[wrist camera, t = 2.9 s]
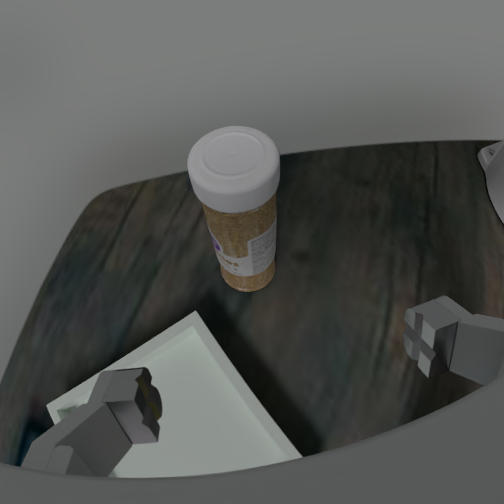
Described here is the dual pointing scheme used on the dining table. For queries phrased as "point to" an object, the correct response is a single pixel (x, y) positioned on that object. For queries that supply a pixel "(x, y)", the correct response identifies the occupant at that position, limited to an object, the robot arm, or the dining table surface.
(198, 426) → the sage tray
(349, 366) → the dining table surface
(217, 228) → the sprinkles bottle
